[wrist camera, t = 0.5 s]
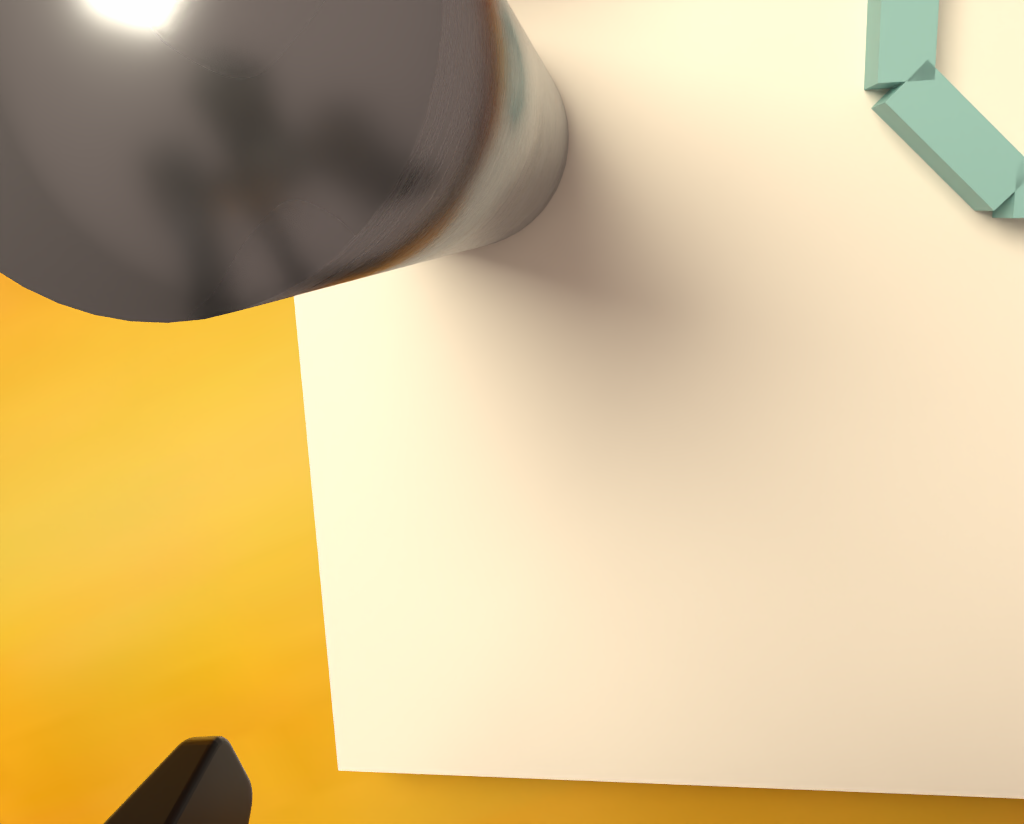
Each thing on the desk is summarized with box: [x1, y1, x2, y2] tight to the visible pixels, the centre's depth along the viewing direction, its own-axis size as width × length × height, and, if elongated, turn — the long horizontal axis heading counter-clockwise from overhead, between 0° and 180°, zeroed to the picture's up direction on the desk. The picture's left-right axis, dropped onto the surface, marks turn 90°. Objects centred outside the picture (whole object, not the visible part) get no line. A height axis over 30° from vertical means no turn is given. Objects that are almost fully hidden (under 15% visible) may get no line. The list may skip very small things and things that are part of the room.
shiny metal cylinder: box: [0, 0, 569, 323], centre depth 12 cm, size 4×4×13 cm
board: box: [294, 0, 1024, 799], centre depth 19 cm, size 24×24×3 cm
